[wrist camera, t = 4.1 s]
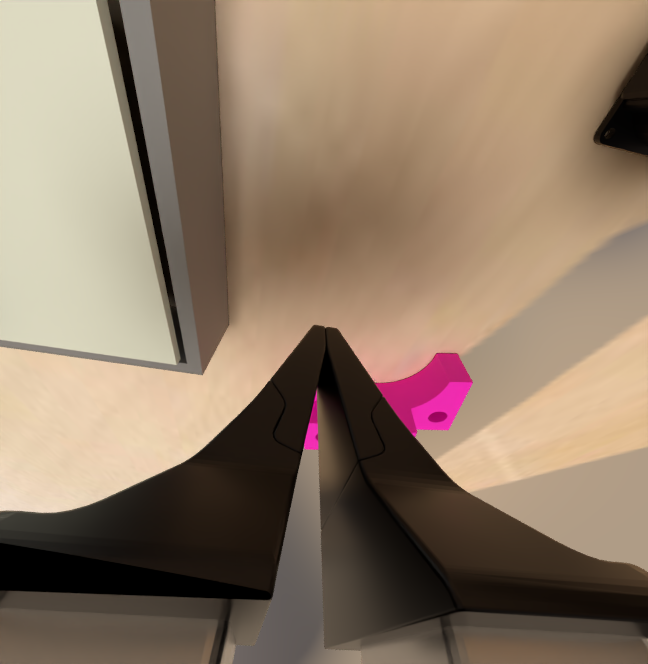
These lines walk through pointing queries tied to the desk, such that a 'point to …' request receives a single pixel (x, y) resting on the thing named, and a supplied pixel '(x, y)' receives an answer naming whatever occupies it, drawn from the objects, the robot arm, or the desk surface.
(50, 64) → the trapdoor
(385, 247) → the desk surface
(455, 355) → the magenta saddle bracket
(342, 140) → the desk surface
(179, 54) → the hatch box
